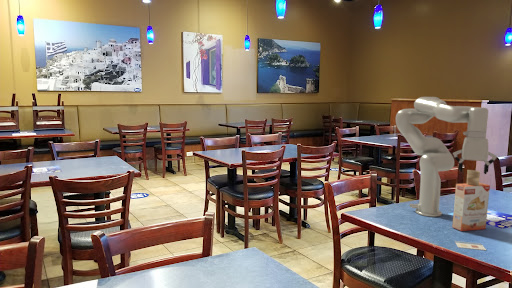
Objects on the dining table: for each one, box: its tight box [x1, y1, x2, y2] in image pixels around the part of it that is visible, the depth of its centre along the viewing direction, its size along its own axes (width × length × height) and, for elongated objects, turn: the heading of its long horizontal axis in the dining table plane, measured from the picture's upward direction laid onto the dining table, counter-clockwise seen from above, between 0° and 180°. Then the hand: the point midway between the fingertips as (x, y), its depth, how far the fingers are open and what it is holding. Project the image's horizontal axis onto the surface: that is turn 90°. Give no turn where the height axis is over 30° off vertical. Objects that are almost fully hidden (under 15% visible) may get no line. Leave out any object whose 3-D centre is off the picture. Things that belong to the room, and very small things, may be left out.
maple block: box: [466, 169, 481, 186], centre depth 175 cm, size 4×4×6 cm
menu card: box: [454, 240, 487, 251], centre depth 156 cm, size 10×7×1 cm
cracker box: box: [451, 182, 491, 232], centre depth 176 cm, size 14×6×21 cm, turn 105°
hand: (472, 172), depth 175 cm, fingers open, 9 cm apart
